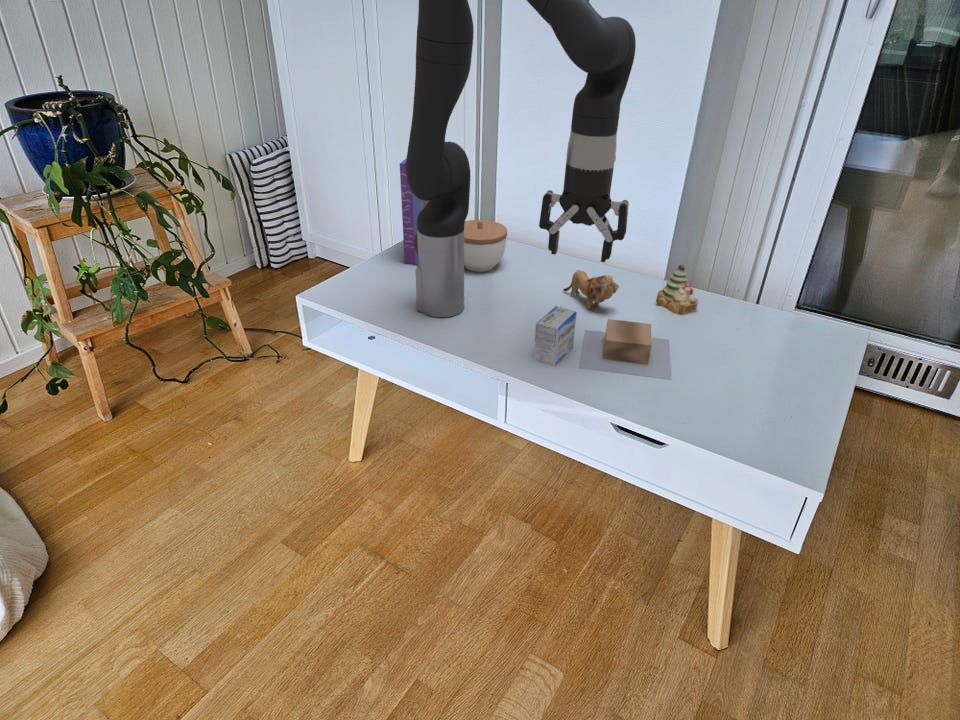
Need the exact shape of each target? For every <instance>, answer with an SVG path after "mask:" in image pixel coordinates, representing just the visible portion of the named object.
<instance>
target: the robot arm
mask: <svg viewBox="0 0 960 720" xmlns="http://www.w3.org/2000/svg"><path fill="white" fill-rule="evenodd" d="M526 2H528V4H529V5H530V6H531V7H532V8H533V9H534V11H536V12H537V14H539V16H540V17H541V18H542V19H543V20H544V21H545V22H546V23H547V24H548V25H549V26H550V28H551V29H552V31H553V33H554V35H555V38H557V41H558V42H559V44H560V46H561V47H562V49H563V50H564V52H565V54H566V56H567V57H568V58H569V60H570V61H571V62H572V63H573V64H574V65H575V66H576V67H577V68H579V69H580V70H581V71H583V72H584V73H587V75H586V78H585V79H586V80H585V83H584V85H583V87H582V88H581V90H579V91H578V93H577V94H576V95H575V98H574V100H573V101H574V102H573V108H572V113H571V114H572V117H571V125H570V134H569V139H568V143H567V151H566V158H565V171H564V180H563V190H562V194H558V193H554V192H553V190H547V191H546V192H545V193H544V195H543V197H542V201H541V210H540V216H539V223H538V227H539V229H542V230H546V231H547V232H548V234H549V235H548V247H547V248H548V251H550V252H551V253H550V254H551V255H556V254H557V253H558V250H559V241H560V233H561V232H560V229H561V228H562V227H563V226H564V225H565V224H566V223H567V222H568V221H570V222H572V224H576V225H579V224H582V225H584V226H589V227H592V225H594V226H595V227H596V229H597V231H598V232H599V233H601V235H602V237H603V239H604V240H603V243H602V249H601V250H602V251H601V256H600V257H601V258H600V262H601V263H606V261H607V260H610V258H611V256H612V251H613V244H614V241H623V240H624V238H625V237H626V236H625V235H626V233H627V227H628V216H629V215H628V214H629V205H630V204H629V203H630V202H629V201H628V200H626V199H624V200H622V201H612V199H611V190H612V189H611V188H612V183H613V175H614V167H615V162H616V158H617V156H616V154H617V153H616V152H617V133H618V128H619V127H618V126H619V119H620V111H621V103H622V99H623V96H624V94H625V91H626V88H627V85H628V81H629V78H630V76H631V72H632V68H633V65H634V61H635V55H636V47H637V46H636V45H637V44H636V35H635V31H634V28H633V27H632V25H631V24H630V23H629V21H627V19H625V18H623V17H620V16H607V17H602V16H601V15H600V14H599V13H598V12H597V11H596V9H595V8H594V6H592V4H591V3H590V0H526ZM417 11H418V12H417V13H418V15H417V16H418V17H417V25H416V26H417V27H416V42H415V43H416V47H415V78H414V79H415V80H414V90H413V91H414V93H413V106H412V117H411V125H410V133H409V139H408V147H407V153H406V158H407V159H406V158H405V159H406V176H407V182H408V185H409V187H410V189H411V191H412V193H413V194H414V195H415V196H416V197H417V198H419V199H421V200H425V201H428V200H429V201H428V203H427V205H426V206H425V207H424V208H423V209H422V211H421V212H420V213H419V214H418V216H417V239H418V264H419V265H418V266H417V265H416V268H415V291H416V292H415V294H416V312H420V313H421V312H422V313H423V314H425V315H426V316H430V317H435V318H448V317H449V318H450V317H454V316H456V315H458V314H461V313H462V312H463V311H464V309H465V266H464V223H465V221H467V220H466V219H467V218H468V215H469V209H470V207H469V206H470V191H471V169H470V168H471V167H470V161H469V158H468V155H467V154H466V151H465V150H464V148H463V147H462V146H461V145H459V144H458V143H456V142H454V141H446V136H447V135H446V134H447V129H448V124H449V121H450V118H451V115H452V113H453V111H454V109H455V107H456V105H457V103H458V101H459V98H460V96H461V94H462V92H463V90H464V88H465V86H466V83H467V81H468V78H469V74H470V71H471V65H472V58H473V57H472V55H473V46H474V31H475V30H474V20H473V17H472V11H471V8H470V5H469V0H418V10H417ZM557 203H559V205H560V207H561V208H562V210H563V212H562V213H561V215H560V216H559V217H558V218H557V219H556V220H555V221H552V220H550V219H551V211H552V208H553V207H555V206H556V204H557ZM610 210H613V212H614V215H615V216H616V217H617V218H618V219H617V228H616V229H615V230H614V229H613V227H612V226H611V223H610V220H609V218H608V217H607V213H608V212H609V211H610Z"/></svg>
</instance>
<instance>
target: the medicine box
mask: <svg viewBox="0 0 960 720" xmlns="http://www.w3.org/2000/svg"><path fill="white" fill-rule="evenodd" d="M576 321H577V311H576V310H572V309H569V308H567V307H562V306H557V305H556V306H554V307H553V308H552V309H551V310H549V311H548V312H547V313H546V314H545V315H544V316H543V317H542V318H541V319H539V320H538V321H537V322H535V330H534V331H535V332H534V333H535V334H534V343H533V344H534V346H533V347H534V349H533V360H535V361H538V362H540V363H544V364H546V365H550V366H553V367H555V366H557V365H558V364H559V363H560V362H561V361H562V359H564V358H565V357H566V355H567V354H569V353H570V351H571V350H572V349H573V348H574V340H575V332H576Z"/></svg>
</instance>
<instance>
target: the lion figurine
mask: <svg viewBox="0 0 960 720" xmlns="http://www.w3.org/2000/svg"><path fill="white" fill-rule="evenodd" d="M619 288H620V285H619V284H618V283H616V281H614V278H613V276H612V275H610V274H608V275H607V274H604V275H600V276H596V277H591V278H590V277H589V276H588V275H587V273H586V272H585V271H584V270H576V271H575V272H573V275H572V279H571V283H570V285H569V286H568V287H565V288H563V289H562V290H563V291H564V292H568V291H569V290H570V289H571V291H570V297H571V298H573V297H574V296H579V295H580V294H582V295H583V296H585V297H586V310H588V311H589V310H592V305H593V306H594V307H599V305H600V304H601V303H603V302H605V301H606V300H609V299H611V298H612V297H613V295H614V294H616V293H617V291H618V290H619ZM593 303H594V304H593Z"/></svg>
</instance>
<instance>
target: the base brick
mask: <svg viewBox="0 0 960 720" xmlns="http://www.w3.org/2000/svg"><path fill="white" fill-rule="evenodd" d="M605 327H606V328H605V332H606V334H605V343H604V353H603V359H607V360H615V361H623V362H631V363H639V364H647V365H648V362H649V356H650V351H651V346H652V344H651V338H652V323H645V322H638V321H636V322H635V321H628V320H621V319H620V320H619V319H611V318H607V321H606V326H605Z"/></svg>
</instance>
